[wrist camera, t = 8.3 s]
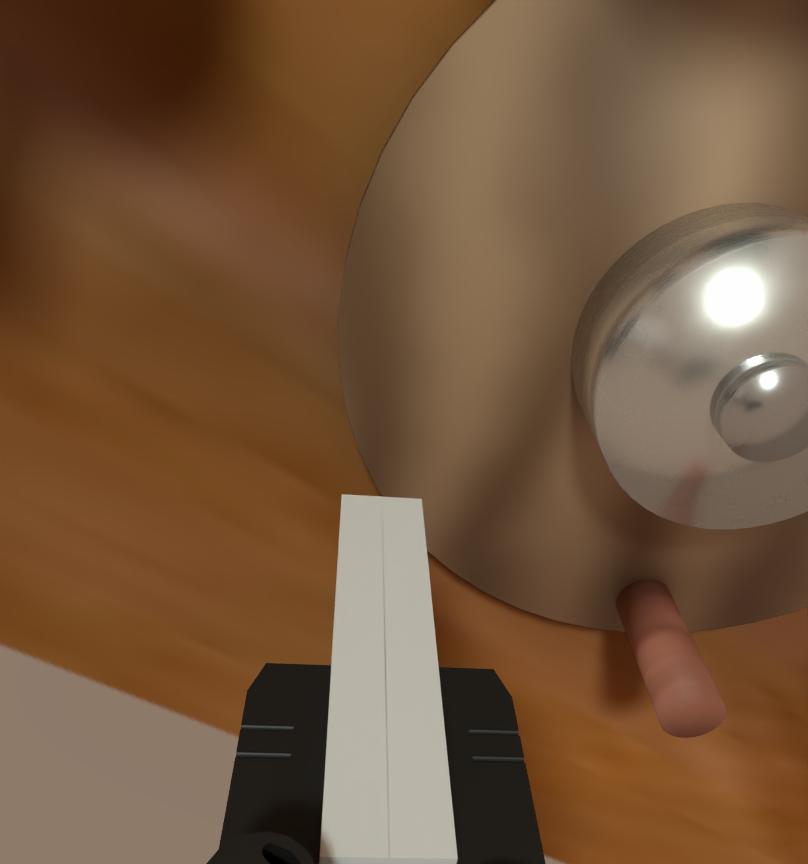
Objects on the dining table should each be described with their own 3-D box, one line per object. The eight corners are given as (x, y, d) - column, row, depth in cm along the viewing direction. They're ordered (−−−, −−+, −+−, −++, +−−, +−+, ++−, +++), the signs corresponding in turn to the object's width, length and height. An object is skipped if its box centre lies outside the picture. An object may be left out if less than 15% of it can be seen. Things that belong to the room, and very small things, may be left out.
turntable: (324, 597, 32) (309, 733, 26) (368, -210, 18) (357, -319, 12) (909, 631, 34) (1021, 767, 28) (1361, -80, 20) (1787, -119, 14)
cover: (545, 455, 27) (574, 538, 23) (608, 188, 22) (659, 230, 18) (795, 473, 28) (868, 557, 24) (910, 217, 23) (1030, 265, 19)
